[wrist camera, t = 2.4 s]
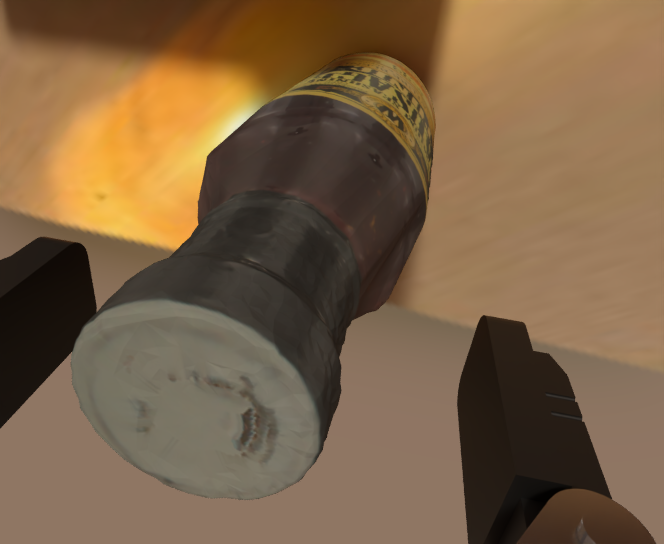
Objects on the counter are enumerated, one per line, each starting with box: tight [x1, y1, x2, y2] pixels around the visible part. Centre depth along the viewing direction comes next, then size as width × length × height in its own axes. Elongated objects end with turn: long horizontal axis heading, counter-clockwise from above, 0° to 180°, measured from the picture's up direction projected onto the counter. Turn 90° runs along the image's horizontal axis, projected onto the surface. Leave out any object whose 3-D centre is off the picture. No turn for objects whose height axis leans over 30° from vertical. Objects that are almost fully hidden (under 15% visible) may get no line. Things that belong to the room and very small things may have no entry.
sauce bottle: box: [71, 52, 436, 500], centre depth 16 cm, size 7×6×20 cm
